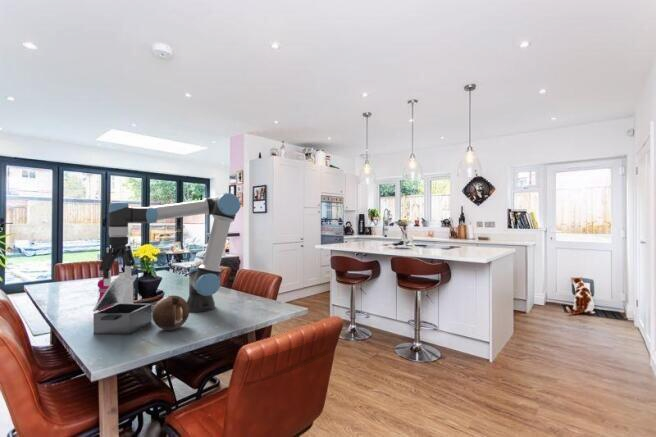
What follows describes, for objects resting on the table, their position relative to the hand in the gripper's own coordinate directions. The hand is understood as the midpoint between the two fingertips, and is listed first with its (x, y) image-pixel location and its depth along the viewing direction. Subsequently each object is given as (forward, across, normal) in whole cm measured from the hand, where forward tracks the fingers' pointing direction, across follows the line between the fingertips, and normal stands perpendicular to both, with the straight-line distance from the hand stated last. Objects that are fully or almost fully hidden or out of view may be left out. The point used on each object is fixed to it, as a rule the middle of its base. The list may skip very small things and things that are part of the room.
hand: (118, 282), depth 148 cm
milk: (+21, -19, -10) cm, 30 cm away
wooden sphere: (+21, 0, +25) cm, 32 cm away
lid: (+4, 0, -1) cm, 5 cm away
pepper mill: (+21, -20, -21) cm, 36 cm away
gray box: (+21, 0, +3) cm, 21 cm away
